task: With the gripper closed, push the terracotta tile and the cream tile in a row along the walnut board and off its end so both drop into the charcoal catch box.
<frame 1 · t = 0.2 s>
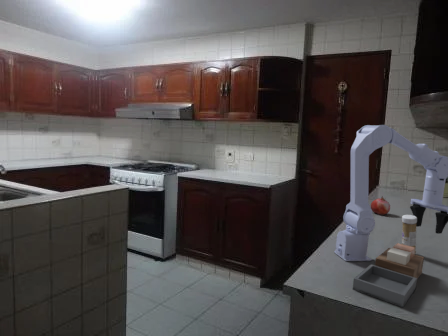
hand: (427, 229, 113), 10 cm above the counter, fingers open, 7 cm apart
catch box: (384, 288, 89), on the counter
terracotta tile: (403, 255, 101), point 5 cm above the counter, touching walnut board
cream tile: (398, 260, 97), point 5 cm above the counter, touching walnut board
fruit: (379, 214, 177), on the counter
sprinkles bottle: (408, 252, 118), on the counter, touching gripper
walnut board: (398, 273, 99), on the counter
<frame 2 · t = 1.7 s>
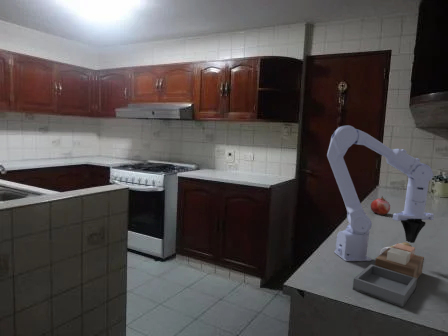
hand: (410, 241, 107), 8 cm above the counter, fingers closed
sprinkles bottle: (406, 248, 116), point 2 cm above the counter
everything else where it was.
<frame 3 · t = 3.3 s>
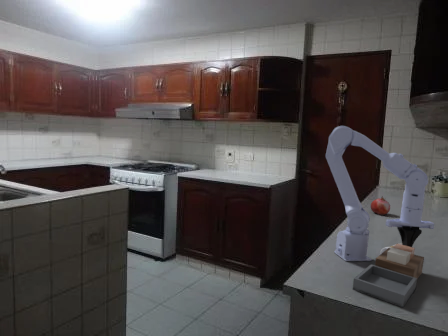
hand: (406, 249, 104), 6 cm above the counter, fingers closed
terracotta tile: (402, 255, 101), point 5 cm above the counter, touching gripper
everything else where it was.
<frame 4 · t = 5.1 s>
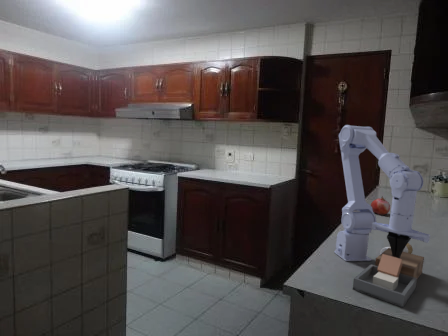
hand: (396, 259, 94), 6 cm above the counter, fingers closed, pressing on terracotta tile
terracotta tile: (390, 268, 93), point 4 cm above the counter, tilted 47°, touching cream tile, gripper
cream tile: (386, 276, 89), point 3 cm above the counter, tilted 180°, touching catch box, terracotta tile
everything else where it was.
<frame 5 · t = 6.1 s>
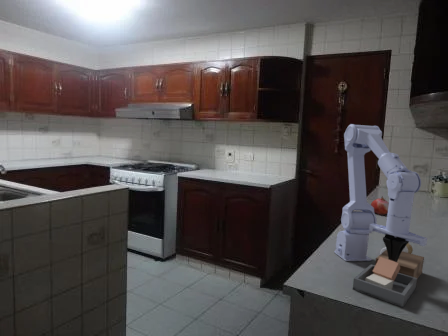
hand: (392, 262, 92), 6 cm above the counter, fingers closed, pressing on terracotta tile
terracotta tile: (387, 272, 91), point 4 cm above the counter, tilted 41°, touching cream tile, gripper
cream tile: (379, 279, 87), point 3 cm above the counter, tilted 180°, touching catch box, terracotta tile
everything else where it was.
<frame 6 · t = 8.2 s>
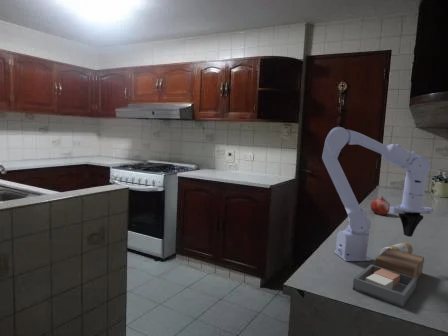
hand: (407, 235, 106), 10 cm above the counter, fingers closed
terracotta tile: (385, 282, 91), point 1 cm above the counter, touching catch box
cream tile: (379, 279, 87), point 3 cm above the counter, tilted 180°, touching catch box
everything else where it was.
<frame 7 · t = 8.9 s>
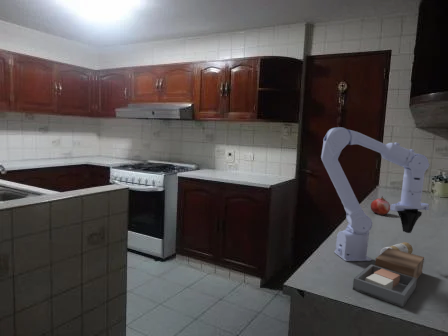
hand: (406, 232, 107), 10 cm above the counter, fingers closed
nothing on the counter moved.
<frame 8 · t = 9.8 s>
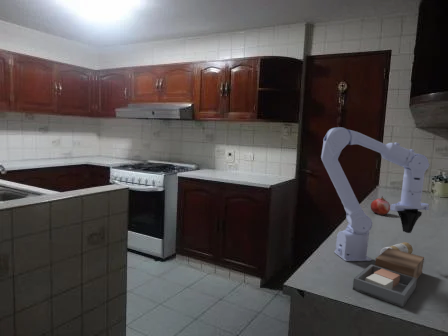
hand: (406, 232, 107), 10 cm above the counter, fingers closed
nothing on the counter moved.
at the end: terracotta tile 3.2 cm from the catch box (horizontally); cream tile 2.4 cm from the catch box (horizontally); terracotta tile point 0.6 cm above the counter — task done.
